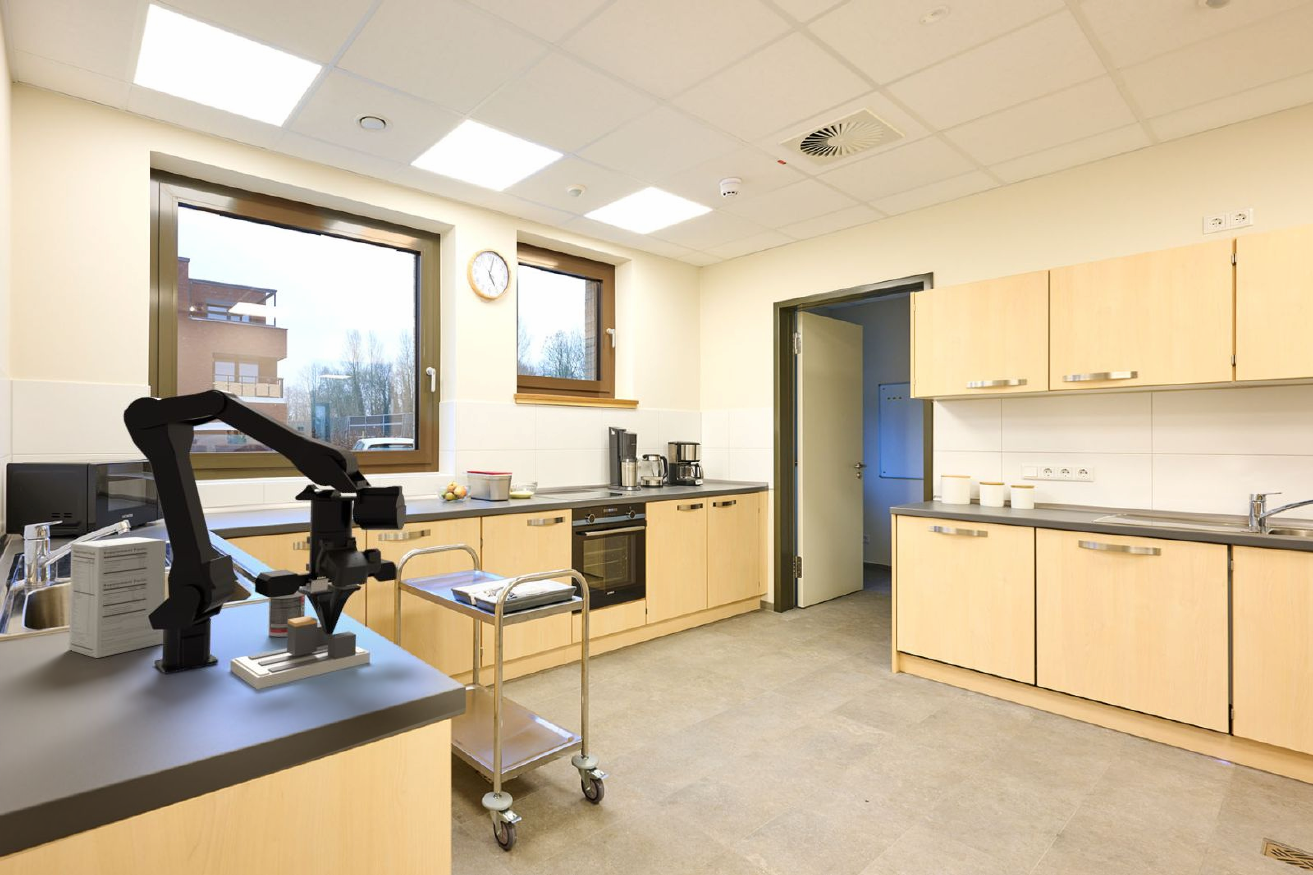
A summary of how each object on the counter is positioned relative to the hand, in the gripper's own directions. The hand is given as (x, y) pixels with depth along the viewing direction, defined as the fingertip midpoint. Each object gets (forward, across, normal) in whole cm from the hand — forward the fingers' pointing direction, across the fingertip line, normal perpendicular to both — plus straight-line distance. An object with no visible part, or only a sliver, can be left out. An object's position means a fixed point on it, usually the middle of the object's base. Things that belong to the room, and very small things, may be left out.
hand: (328, 633), depth 98 cm
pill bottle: (+4, +1, +20) cm, 20 cm away
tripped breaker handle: (+2, -4, 0) cm, 4 cm away
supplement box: (+4, -20, +31) cm, 37 cm away
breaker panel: (+4, -4, 0) cm, 5 cm away
